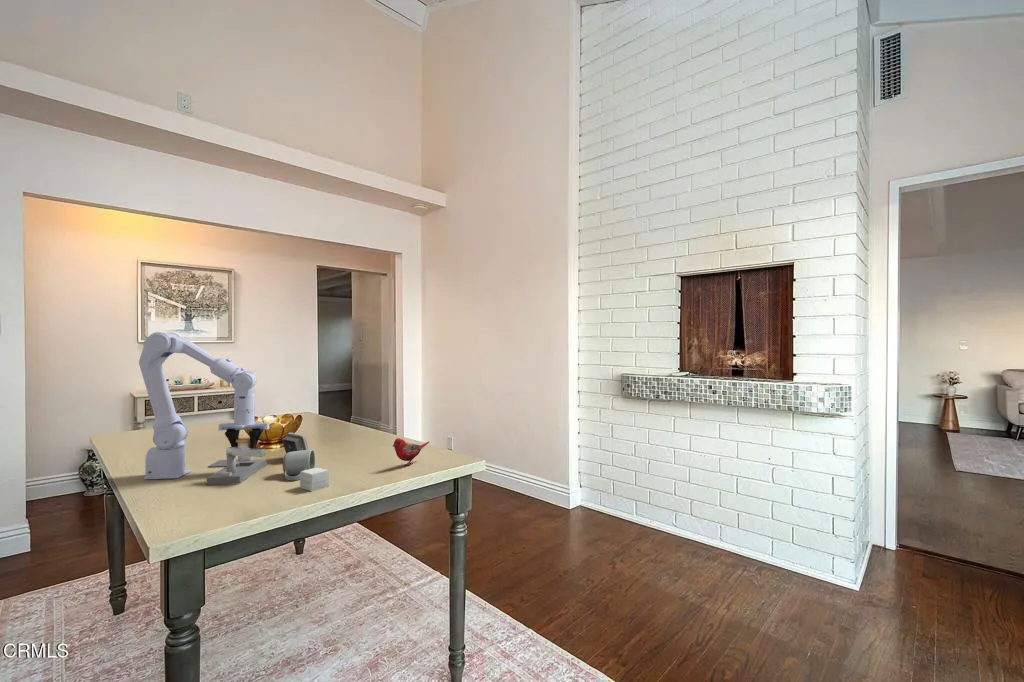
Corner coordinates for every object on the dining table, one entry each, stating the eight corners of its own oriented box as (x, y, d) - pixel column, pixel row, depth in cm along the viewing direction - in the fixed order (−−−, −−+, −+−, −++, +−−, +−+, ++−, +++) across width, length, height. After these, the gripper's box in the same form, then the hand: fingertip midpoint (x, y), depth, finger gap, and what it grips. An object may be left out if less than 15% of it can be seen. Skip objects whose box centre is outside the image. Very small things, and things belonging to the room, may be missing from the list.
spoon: (231, 453, 143) (231, 446, 143) (266, 455, 140) (266, 448, 140) (224, 455, 140) (224, 448, 140) (259, 457, 138) (259, 450, 138)
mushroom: (232, 462, 148) (232, 440, 148) (239, 458, 152) (239, 437, 152) (249, 462, 148) (249, 440, 148) (255, 458, 153) (255, 437, 153)
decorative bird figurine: (389, 469, 152) (389, 439, 152) (426, 458, 167) (426, 430, 167) (395, 471, 150) (395, 440, 150) (432, 459, 165) (432, 430, 165)
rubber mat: (207, 467, 154) (207, 466, 154) (219, 461, 162) (219, 460, 162) (233, 466, 155) (233, 465, 155) (244, 460, 163) (244, 459, 163)
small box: (329, 486, 135) (329, 469, 135) (311, 492, 130) (311, 474, 130) (317, 483, 138) (317, 466, 138) (299, 488, 133) (299, 471, 133)
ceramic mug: (288, 471, 149) (288, 447, 149) (315, 470, 151) (315, 446, 151) (278, 482, 139) (278, 456, 139) (307, 481, 140) (307, 455, 140)
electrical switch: (311, 459, 165) (309, 433, 164) (298, 464, 160) (295, 437, 159) (296, 456, 170) (293, 430, 169) (282, 460, 165) (279, 434, 165)
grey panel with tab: (206, 484, 136) (206, 459, 136) (237, 466, 156) (237, 444, 156) (239, 483, 137) (239, 458, 137) (266, 465, 157) (266, 443, 157)
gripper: (213, 412, 145) (213, 455, 145) (263, 411, 147) (263, 454, 147) (224, 408, 152) (224, 450, 152) (272, 408, 154) (271, 449, 154)
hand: (244, 452), depth 150 cm, fingers closed on mushroom, 5 cm apart
